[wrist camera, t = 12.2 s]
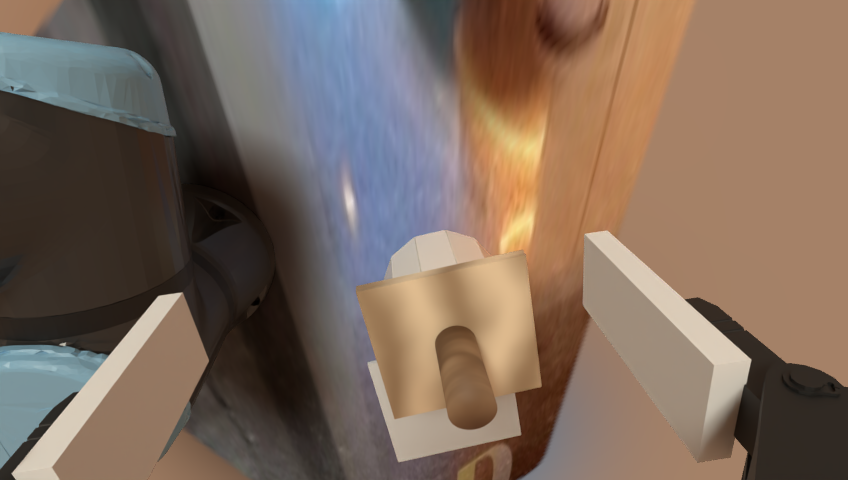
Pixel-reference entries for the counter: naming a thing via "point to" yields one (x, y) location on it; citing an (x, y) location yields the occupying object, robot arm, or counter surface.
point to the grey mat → (442, 426)
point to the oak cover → (454, 337)
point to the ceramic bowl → (434, 253)
